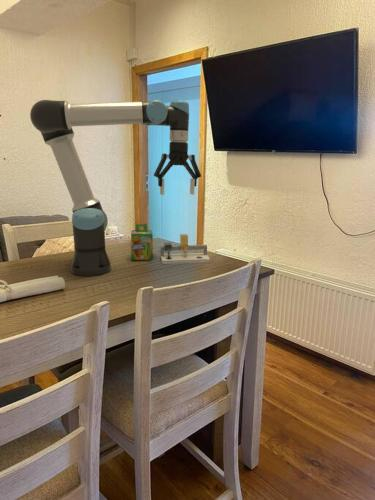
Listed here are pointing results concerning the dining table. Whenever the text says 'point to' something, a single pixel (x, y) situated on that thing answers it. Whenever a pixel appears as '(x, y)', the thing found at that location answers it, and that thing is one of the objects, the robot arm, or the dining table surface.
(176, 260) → the hole plate
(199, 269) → the dining table surface
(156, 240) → the dining table surface
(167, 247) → the fixed leg
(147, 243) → the chalk box
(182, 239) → the block
